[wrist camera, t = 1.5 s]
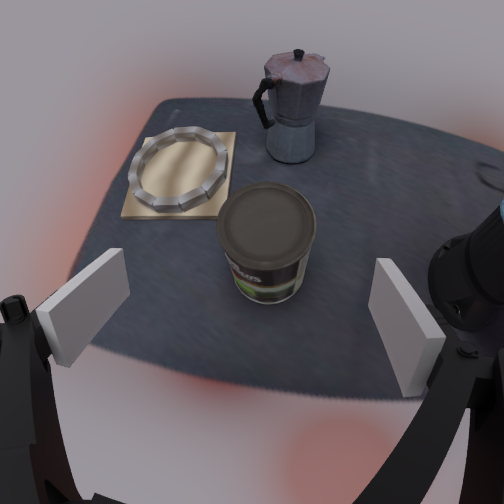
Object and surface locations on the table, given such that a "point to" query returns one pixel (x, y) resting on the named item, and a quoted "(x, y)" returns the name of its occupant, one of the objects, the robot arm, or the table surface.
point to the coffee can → (267, 239)
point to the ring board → (180, 175)
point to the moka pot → (292, 103)
